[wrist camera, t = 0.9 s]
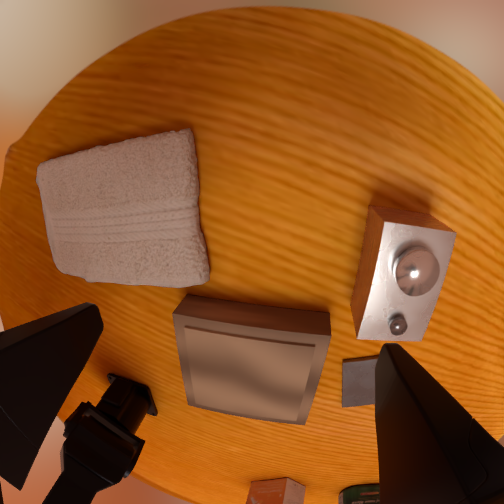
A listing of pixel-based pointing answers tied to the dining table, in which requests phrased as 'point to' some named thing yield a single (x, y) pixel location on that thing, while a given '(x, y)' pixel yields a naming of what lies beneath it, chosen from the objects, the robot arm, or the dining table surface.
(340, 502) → the coffee jar
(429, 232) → the housing
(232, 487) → the dining table surface
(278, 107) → the dining table surface
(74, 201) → the washcloth
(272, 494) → the small box
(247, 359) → the tray
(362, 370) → the cover plate
